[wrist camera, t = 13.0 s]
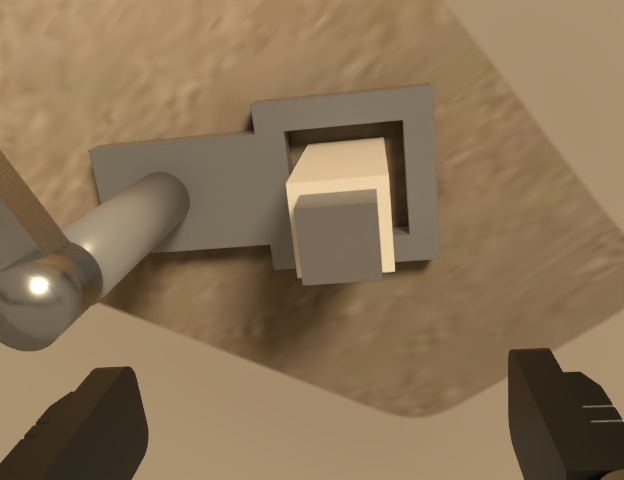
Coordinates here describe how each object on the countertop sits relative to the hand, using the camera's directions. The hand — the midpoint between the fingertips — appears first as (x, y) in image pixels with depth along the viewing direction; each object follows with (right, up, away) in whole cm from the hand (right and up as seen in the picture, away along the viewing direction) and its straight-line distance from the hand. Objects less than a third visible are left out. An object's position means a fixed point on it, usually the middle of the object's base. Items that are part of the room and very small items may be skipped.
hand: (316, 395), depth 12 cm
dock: (-3, +6, +20) cm, 21 cm away
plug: (+2, +7, +19) cm, 21 cm away
